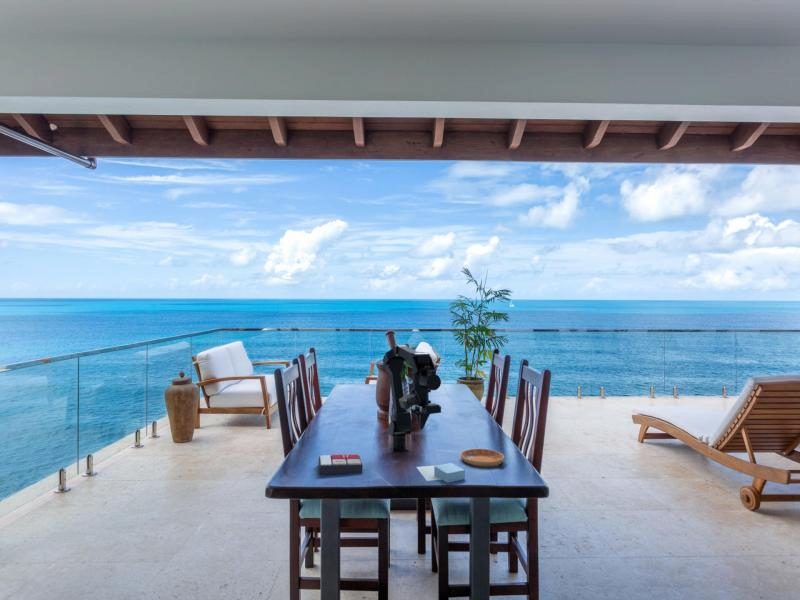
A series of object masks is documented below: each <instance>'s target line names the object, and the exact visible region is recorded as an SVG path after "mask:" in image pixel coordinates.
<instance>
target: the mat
mask: <svg viewBox="0 0 800 600" xmlns="http://www.w3.org/2000/svg"><path fill="white" fill-rule="evenodd" d="M437 465H438V464H437ZM437 465H428V466H427V465H425V466H423V465H422V466H416V469H417V470H418V471H419V472H420V474H421V476H422V477H423V478H424V479H425V481H426V482H429V481H440V480H441V481H443V480H442V479H440V478H439V477H437V476H435V475H434V466H437Z"/></svg>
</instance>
